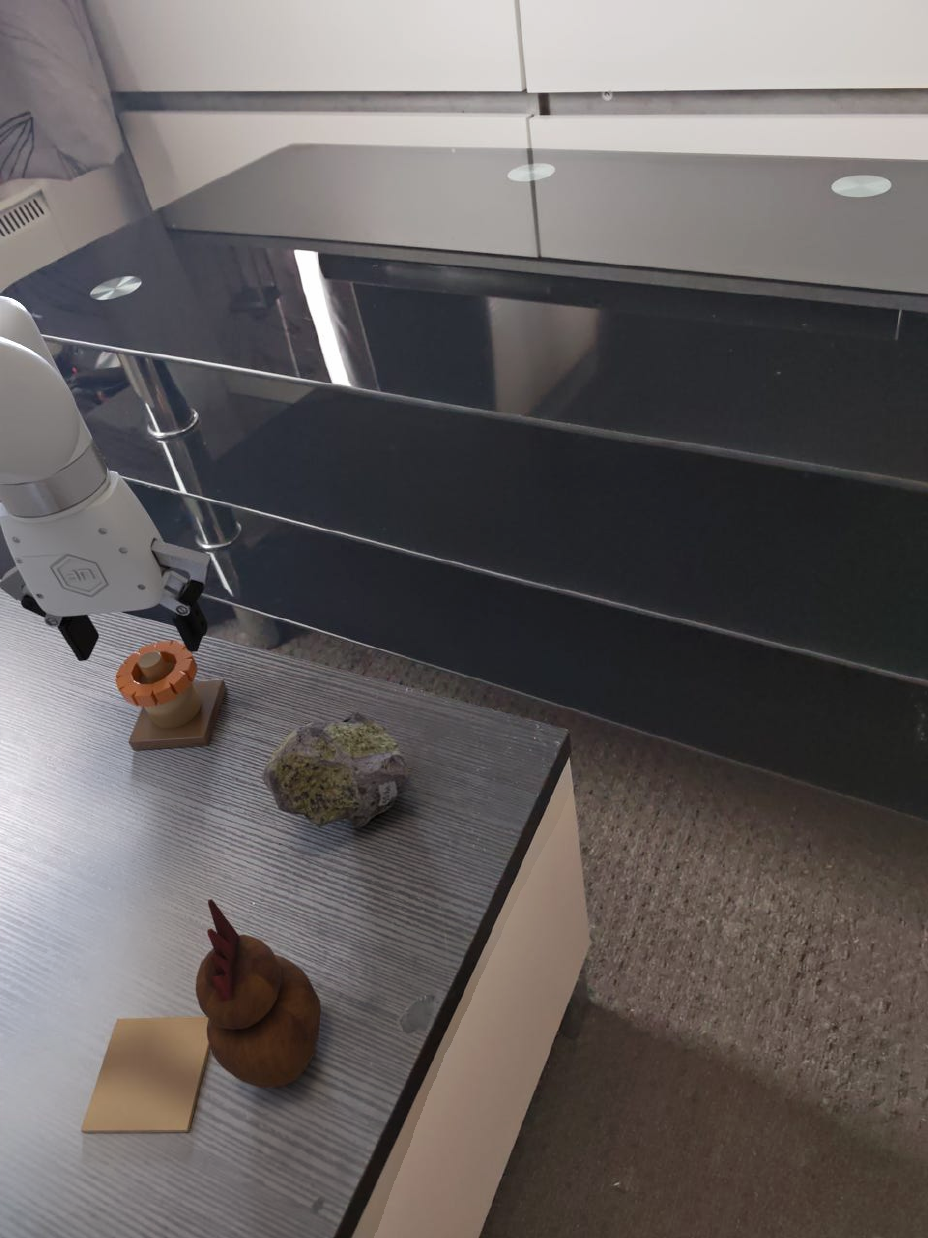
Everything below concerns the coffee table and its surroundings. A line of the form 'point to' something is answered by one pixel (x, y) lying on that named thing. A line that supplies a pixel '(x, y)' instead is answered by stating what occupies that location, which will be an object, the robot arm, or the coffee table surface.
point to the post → (176, 710)
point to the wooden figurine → (256, 1008)
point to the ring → (161, 689)
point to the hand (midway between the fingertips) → (143, 644)
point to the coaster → (149, 1076)
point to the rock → (337, 771)
